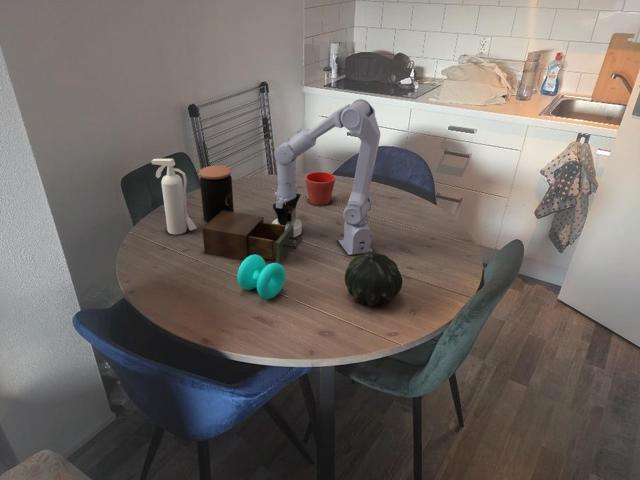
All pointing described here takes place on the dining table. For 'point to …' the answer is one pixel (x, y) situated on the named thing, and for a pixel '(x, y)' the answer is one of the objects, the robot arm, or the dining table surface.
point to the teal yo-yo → (261, 276)
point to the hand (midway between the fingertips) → (286, 219)
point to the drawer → (272, 241)
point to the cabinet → (229, 234)
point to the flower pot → (320, 187)
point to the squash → (373, 278)
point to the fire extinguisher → (174, 197)
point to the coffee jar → (216, 191)
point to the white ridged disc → (296, 227)
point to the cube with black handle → (291, 217)
